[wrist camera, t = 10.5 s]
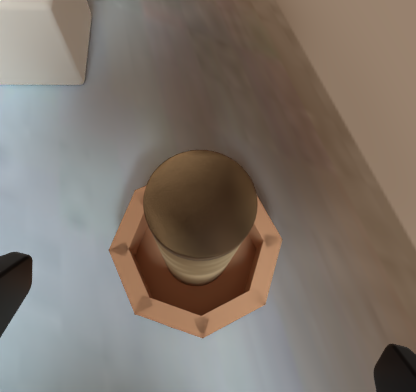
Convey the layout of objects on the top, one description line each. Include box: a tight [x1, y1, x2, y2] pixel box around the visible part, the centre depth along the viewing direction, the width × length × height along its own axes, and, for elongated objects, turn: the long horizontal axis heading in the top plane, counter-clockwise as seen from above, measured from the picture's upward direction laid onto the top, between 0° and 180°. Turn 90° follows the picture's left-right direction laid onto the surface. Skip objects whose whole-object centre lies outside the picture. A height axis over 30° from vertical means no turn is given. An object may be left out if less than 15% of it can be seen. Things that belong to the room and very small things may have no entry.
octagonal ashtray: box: [109, 185, 282, 338], centre depth 21 cm, size 9×9×3 cm
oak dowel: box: [143, 150, 258, 286], centre depth 17 cm, size 4×4×10 cm
